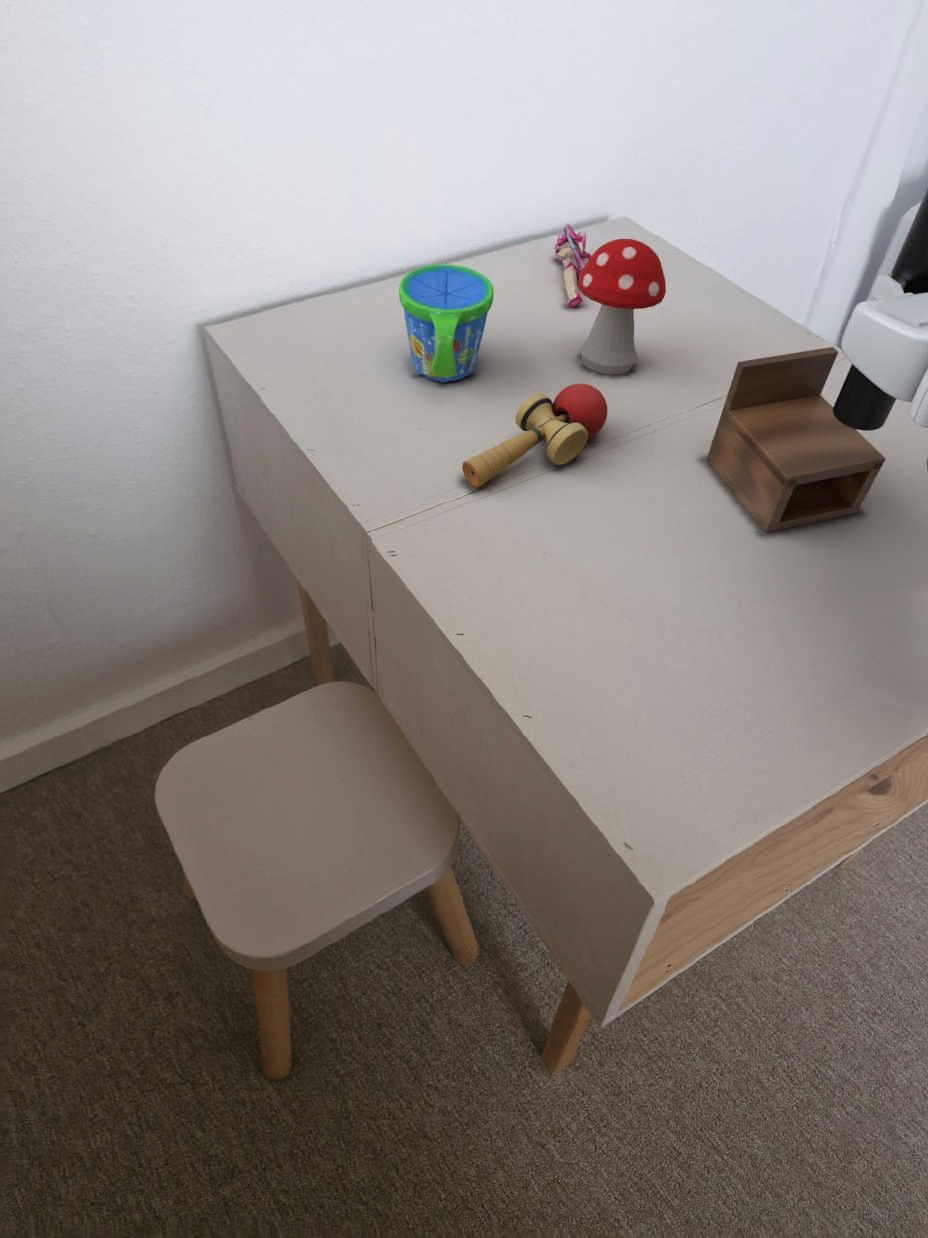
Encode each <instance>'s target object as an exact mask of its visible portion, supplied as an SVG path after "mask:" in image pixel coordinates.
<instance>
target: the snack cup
mask: <svg viewBox="0 0 928 1238" xmlns="http://www.w3.org/2000/svg"><path fill="white" fill-rule="evenodd" d="M494 293H495V292H494V286H493V284H492V282H491V280H489V278H487V277H486V275H484V274H482V273H481V272H479V271H476V270H474V269H472V268H469V267H466V266H461V265H455V264H430V265H429V264H428V265H425V266H420V267H417V268H415V269H413V270H410V271H409V272H407V273H406V274H405V275H404V276H403V277H402V278H401V280H400V282H399V285H398V299H399V303H400V305H401V307H402V309H403V312H404V321H405V327H406V334H407V340H408V346H409V353H410V355H411V360H412V361H411V362H412V364H413V367H414V369H415V371H416V373H417V375H422V376H424V377H426V378H428V379H430V380H433V381H439V382H440V383H448V382H454V381H458V380H461V379H464V378H465V377H467V376H470V375H471V374H472V373H473V371H474V369H475V366H476V364H477V361H478V356H479V353H480V348H481V342H482V340H483V336H484V331H485V326H486V324H487V323H486V322H487V317H488V314H489V311H490V309H491V308H492V305H493V302H494Z"/></svg>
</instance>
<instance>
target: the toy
mask: <svg viewBox="0 0 928 1238" xmlns="http://www.w3.org/2000/svg"><path fill="white" fill-rule="evenodd" d="M573 229H574V228H572V226H571V224H569V223H568V222H566V225H565V226H564V228H563V233H562V234H558V236H557V239H556V243H555V244H554V247H553V250H555V252H554V255H555V257H558V260H559V261H560V263H561V264H563V267H564V268H563V269H562V273H563V281H564V287H565V291H566V295H567V297H568V301H567V306H568V307H569V308H574V307H576V306H578V305H580V304H581V303H582V302H583V298H582V295H581V294H580V293H579V288H578V281H579V276H580V274H581V272H582V269H583V268H584V266H585V265H586V263H587V262H588V261H589V259H590V258H591V256H592V255H593V254H591V253H590V252H588V251H585V250H586V245H587V234H588V233H587V232H583V233H582V235H581V231H578V234H577V233H576V232H575V231H574V230H573ZM580 243H581V246H582V247H580ZM583 259H587V261H585V260H583Z"/></svg>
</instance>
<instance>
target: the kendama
mask: <svg viewBox="0 0 928 1238" xmlns="http://www.w3.org/2000/svg"><path fill="white" fill-rule="evenodd" d="M607 418H608V403H607V400H606V398H605V397H604V395H603V394H602V392H601V391H600V390H599V389H598V388H596V387H595V386H593V385H590V384H588V383H581V382H580V383H572V384H570V385H568V386H566V387H564V388H563V389H561V390H560V391H559V392H558V393H557V395H556V396H555V398H554V400H552V399H551V398H550V397H549V396H548V395H547V394H544V393H541V392H540V393H539V392H537V393H534V394H533V395H531V396H529V397H528V398H527V399H526V400H524V401H523V403H522V404H521V405H520V407H519V408H518V410H517V412H516V413H515V424H516V425H517V427H518V428H519V429H520V430H521V431H524V432H523V433H521V434H518V435H516V436H513V437H511V438H509V439H507V440H505V441H502V442H501V443H499V444H497V445H495V446H493V447H491V448H489V449H487V450H485V451H484V452H483V451H482V452H481V453H479V454H477V455H474V456H473V457H470V458H469V459H466V460H465V461H463V462H462V464H461V469H462V472H463V475H464V477H465V479H466V480H467V482H468V483H469V484H470V485H471V486H472V487H474V488H477V489H478V488H480V487H481V486H483V485H484V484H485V483H487V482H488V481H489V480H490V479H492V478H494V477H495V476H496V475H497V474H499V473H500V472H502V471H503V470H505V469H506V468H508V467H509V466H510V465H512V464H514V463H515V462H516V461H517V460H519V459H520V458H522V457H523V456H524V455H526V454H527V453H528V452H530V450H532V449H533V448H534V447H535V446H537V445H538V444H539V443H540V442H541V441H542V440H544V441H545V443H546V457H547V458H548V459H549V460H550V461H551V462H552V464H553V463H554V464H555V465H556V466H561V465H562V466H563V465H565V464H567V463H569V462H571V461H572V460H573V459H574V458H576V457H577V456H578V455H579V454H580V453H581V452H582V451H583V449H584V447H585V446H586V443H587V441H588V439H591V438H594V437H595V436H596V435H598V433H599V432H600V431H601V430H602V429H603V427H604V426H605V423H606V421H607Z"/></svg>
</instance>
